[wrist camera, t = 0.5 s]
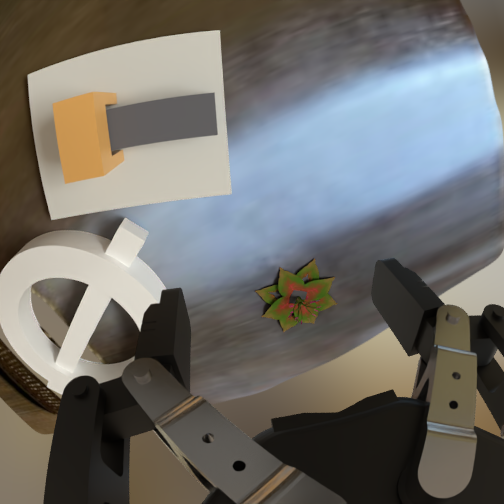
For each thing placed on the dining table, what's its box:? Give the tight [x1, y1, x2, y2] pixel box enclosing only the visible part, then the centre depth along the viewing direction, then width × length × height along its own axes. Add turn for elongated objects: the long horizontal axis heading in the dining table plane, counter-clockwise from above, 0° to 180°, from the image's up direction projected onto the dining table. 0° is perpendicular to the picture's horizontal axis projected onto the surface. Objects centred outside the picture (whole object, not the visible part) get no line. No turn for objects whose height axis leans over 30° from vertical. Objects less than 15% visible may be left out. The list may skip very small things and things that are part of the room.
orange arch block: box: [53, 92, 124, 184], centre depth 25 cm, size 7×4×7 cm, turn 3°
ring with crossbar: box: [0, 218, 166, 394], centre depth 39 cm, size 28×28×5 cm
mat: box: [28, 30, 232, 220], centre depth 29 cm, size 18×22×2 cm
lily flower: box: [255, 259, 337, 332], centre depth 42 cm, size 12×12×5 cm
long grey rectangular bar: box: [106, 92, 218, 151], centre depth 27 cm, size 4×14×4 cm, turn 93°
